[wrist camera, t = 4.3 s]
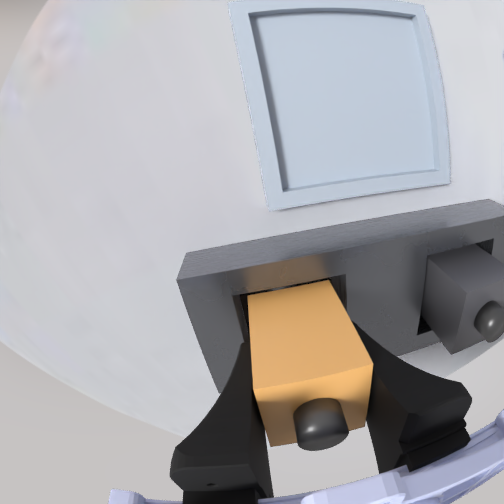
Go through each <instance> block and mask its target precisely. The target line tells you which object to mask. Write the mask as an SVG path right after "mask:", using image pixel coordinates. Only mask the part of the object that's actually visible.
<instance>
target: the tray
mask: <svg viewBox="0 0 504 504" xmlns="http://www.w3.org/2000/svg"><path fill="white" fill-rule="evenodd" d="M228 10H229V15H230V19H231V24H232V29H233V33H234V38H235V43H236V47H237V52H238V57H239V62H240V67H241V72H242V77H243V81H244V86H245V91H246V96H247V101H248V107H249V112H250V117H251V122H252V127H253V132H254V138H255V143H256V148H257V154H258V159H259V164H260V170H261V175H262V181H263V186H264V192H265V198H266V203H267V208H268V210H269V211H275V210H280V209H286V208H291V207H297V206H303V205H309V204H315V203H321V202H327V201H333V200H339V199H345V198H351V197H358V196H364V195H371V194H378V193H384V192H391V191H398V190H406V189H413V188H420V187H428V186H436V185H444V184H450V155H449V138H448V126H447V116H446V107H445V99H444V92H443V86H442V80H441V74H440V69H439V63H438V59H437V54H436V49H435V45H434V41H433V37H432V33H431V29H430V25H429V22H428V18H427V15H426V11H425V8H424V5H420V4H415V3H410V2H404V1H398V0H239V1H233V2H228Z"/></svg>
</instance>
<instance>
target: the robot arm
mask: <svg viewBox="0 0 504 504" xmlns="http://www.w3.org/2000/svg"><path fill="white" fill-rule="evenodd" d="M351 322H352V323H353V325H354V327H355V329H356V331H357V333H358V335H359V337H360V339H361V341H362V343H363V345H364V346H365V348H366V350H367V352H368V354H369V356H370V358H371V360H372V362H373V372H372V380H371V388H370V396H369V403H368V409H367V416H366V421H367V425H368V428H369V432H370V436H371V439H372V443H373V447H374V451H375V455H376V460H377V464H378V470H379V474H378V475H375V476H372V477H368V478H365V479H362V480H358V481H355V482H351V483H347V484H343V485H339V486H335V487H331V488H326V489H323V490H317V491H312V492H307V493H302V494H296V495H290V496H282V497H275V498H274V496H273V489H272V482H271V475H270V468H269V460H268V452H267V444H266V436H265V427H264V424H263V420H262V417H261V414H260V410H259V407H258V404H257V400H256V397H255V394H254V390H253V377H252V360H251V344H250V342H244V343H241V345H240V348H239V352H238V356H237V359H236V361H235V364H234V367H233V369H232V372H231V374H230V377H229V379H228V381H227V383H226V385H225V387H224V389H223V391H222V393H221V394H220V396H219V398H218V399H217V401H216V403H215V404H214V406H213V407H212V408H211V410H210V411H209V413H208V414H207V415H206V417H205V418H204V419H203V420H202V421H201V423H200V424H199V425H198V426H197V427H196V428H195V429H194V430H193V432H192V433H191V434H190V435H189V436H187V437H186V438H185V439H184V440H183V441H182V442H181V443H180V444H179V445H177V446H176V447H175V450H174V453H173V457H172V461H171V468H170V477H171V479H172V480H173V481H174V482H175V483H176V484H177V485H178V486H179V487H180V488H181V489H182V490H183V491H184V492H183V501H165V500H164V501H163V500H152V499H145V498H144V497H143V496H142V495H140V494H139V493H136V492H132V491H124V490H118V489H111V493H110V498H109V503H108V504H450V503H452V502H454V501H455V500H457V499H459V498H461V497H462V496H464V495H466V494H467V493H469V492H470V491H472V490H474V489H475V488H477V487H478V486H480V485H482V484H483V483H485V482H486V481H488V480H489V479H490V478H492V477H493V476H495V475H496V474H498V473H499V472H501V471H502V470H503V469H504V409H503V410H502V411H501V412H500V413H499V415H498V416H497V418H496V419H495V421H494V422H492V423H490V424H489V425H487V426H485V427H484V428H482V429H480V430H478V431H477V432H475V433H473V434H471V435H469V434H468V432H467V431H466V429H465V427H466V422H465V420H464V417H465V415H466V413H467V411H468V410H469V408H470V405H471V403H472V397H471V396H470V394H469V393H468V391H467V389H466V388H465V387H464V386H463V384H462V383H460V382H456V381H452V380H448V379H444V378H441V377H438V376H435V375H432V374H430V373H427V372H425V371H423V370H420V369H418V368H416V367H414V366H412V365H410V364H408V363H406V362H405V361H403V360H401V359H400V358H398V357H396V356H395V355H393V354H392V353H391V352H389V351H388V350H386V349H385V348H384V347H382V346H381V345H380V344H379V343H377V342H376V341H375V340H374V339H373V338H371V337H370V336H369V335H368V334H367V333H366V332H365V331H363V330H362V329H361V328H360V327H359V326H358V325H357V324H356V323H355V322H353V321H351Z"/></svg>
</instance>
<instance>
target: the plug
mask: <svg viewBox="0 0 504 504" xmlns="http://www.w3.org/2000/svg"><path fill="white" fill-rule="evenodd" d="M248 310H249V327H250V344H251V360H252V377H253V390H254V394H255V397H256V400H257V404H258V407H259V410H260V414H261V417H262V420H263V424H264V427H265V430H266V433H267V437H268V440H269V443H270V446H271V447H273V446H280V445H286V444H292V443H298V446H299V447H300V448H302V449H304V450H309V451H317V450H324V449H327V448H331V447H333V446H335V445H337V444H339V443H341V442H342V441H343V440H344V439H345V438H346V437H347V436H348V434H349V431H351V430H354V429H358V428H362V427H365V422H366V416H367V409H368V403H369V396H370V388H371V380H372V372H373V362H372V360H371V358H370V356H369V354H368V352H367V350H366V348H365V346H364V345H363V343H362V341H361V339H360V337H359V335H358V333H357V331H356V329H355V327H354V325H353V323H352V322H351V320H350V318H349V316H348V314H347V312H346V310H345V309H344V307H343V305H342V303H341V301H340V299H339V297H338V296H337V294H336V292H335V290H334V288H333V287H332V285H331V283H330V281H329V280H326V281H321V282H316V283H311V284H306V285H301V286H296V287H291V288H286V289H281V290H275V291H270V292H265V293H259V294H254V295H248Z"/></svg>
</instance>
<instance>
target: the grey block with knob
mask: <svg viewBox="0 0 504 504" xmlns="http://www.w3.org/2000/svg"><path fill="white" fill-rule="evenodd" d="M420 315H421V316H422V317H423V319H424V320H425V321H426V322H427V324H428V325H429V326H430V328H431V329H432V330H433V331H434V333H435V334H436V335H437V337H438V338H439V339H440V341H441V342H442V343H443V345H444V346H445V347H446V349H447V350H448V351H449V353H450V354H451V355H452V354H454V353H456V352H459V351H461V350H463V349H466V348H468V347H470V346H473V345H475V344H477V343H479V342H481V341H483V340H486V341H487V342H489V343H490V342H493V341H495V340H497V339H498V338H499V337H500V336H501V335H502V334H503V332H504V264H503V263H502V262H500V261H499V260H497V259H496V258H495V257H493V256H492V255H490V254H489V253H488V252H486V251H485V250H483V249H482V248H480V247H479V246H477V245H476V244H471V245H467V246H463V247H459V248H455V249H451V250H447V251H443V252H439V253H435V254H431V255H427V262H426V273H425V282H424V291H423V299H422V306H421V313H420Z"/></svg>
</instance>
